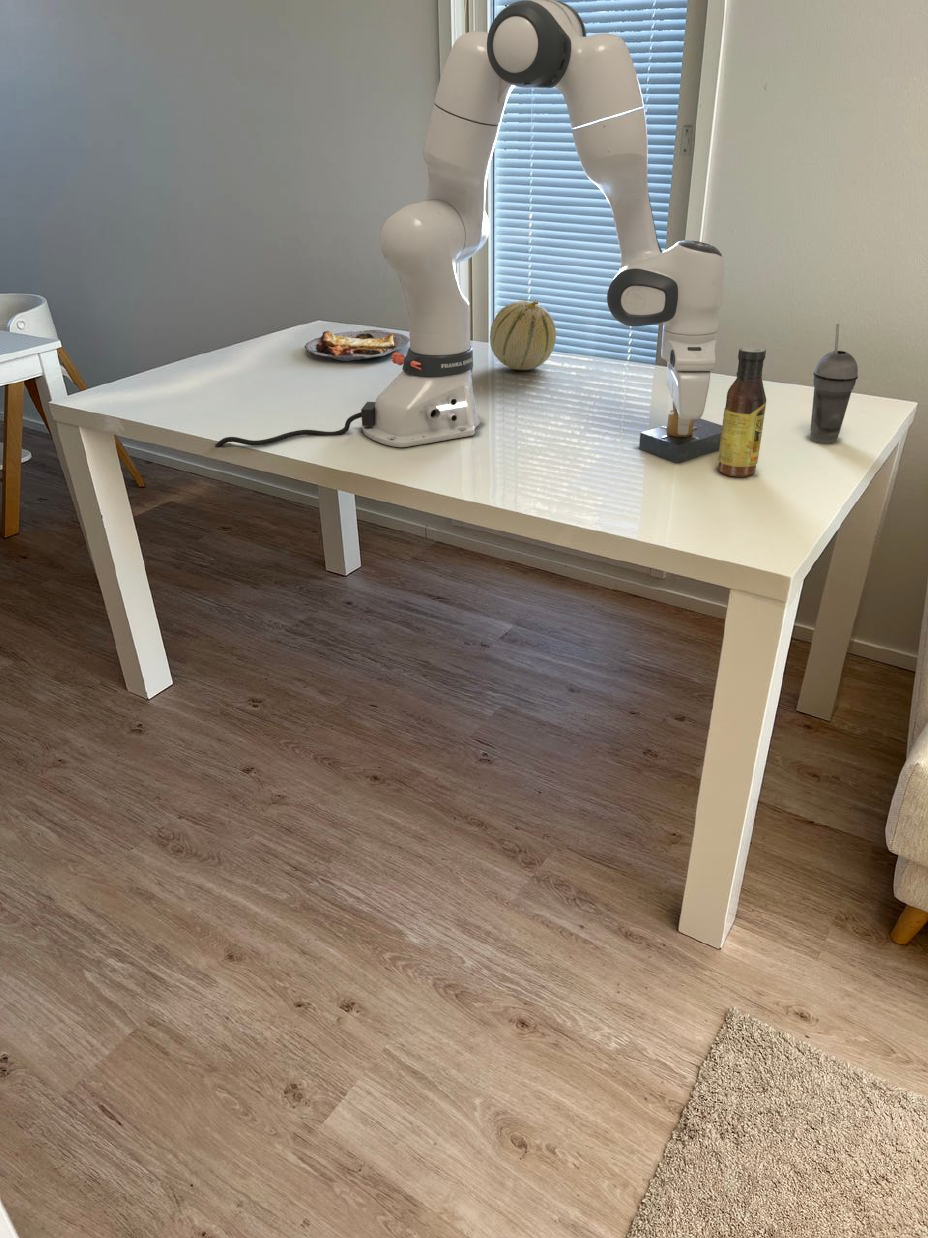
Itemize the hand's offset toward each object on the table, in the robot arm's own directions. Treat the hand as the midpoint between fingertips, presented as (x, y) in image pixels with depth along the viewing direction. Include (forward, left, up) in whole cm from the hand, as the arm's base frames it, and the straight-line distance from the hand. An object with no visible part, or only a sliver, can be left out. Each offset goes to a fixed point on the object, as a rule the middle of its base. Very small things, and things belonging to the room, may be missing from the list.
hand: (679, 428), depth 159 cm
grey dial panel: (+2, 0, -4) cm, 4 cm away
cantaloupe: (+12, +58, -4) cm, 59 cm away
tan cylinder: (0, 0, -1) cm, 1 cm away
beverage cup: (+24, -12, -4) cm, 27 cm away
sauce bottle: (0, -13, -4) cm, 14 cm away
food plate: (-9, +95, -4) cm, 95 cm away
